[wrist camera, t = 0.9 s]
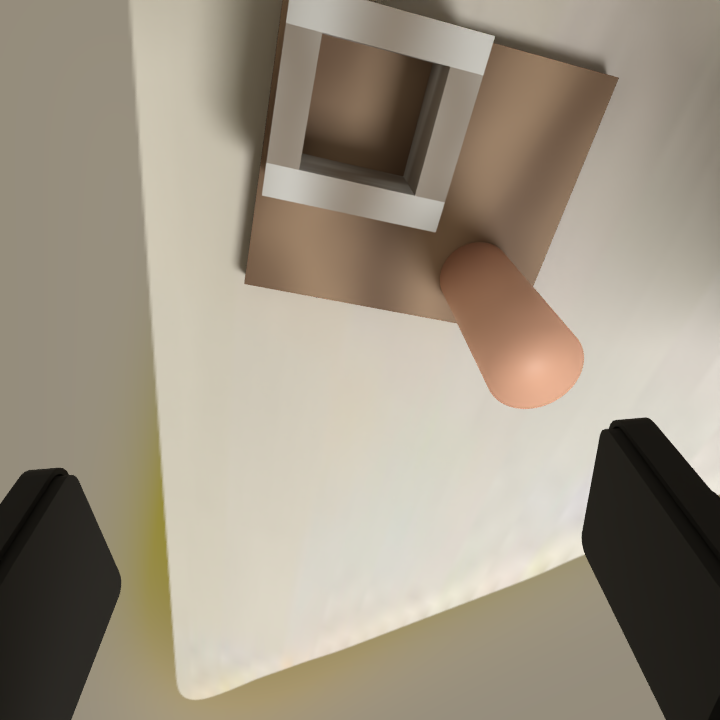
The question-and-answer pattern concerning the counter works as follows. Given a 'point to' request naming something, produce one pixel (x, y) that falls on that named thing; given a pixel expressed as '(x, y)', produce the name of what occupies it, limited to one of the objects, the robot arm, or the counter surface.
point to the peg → (509, 328)
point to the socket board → (410, 154)
